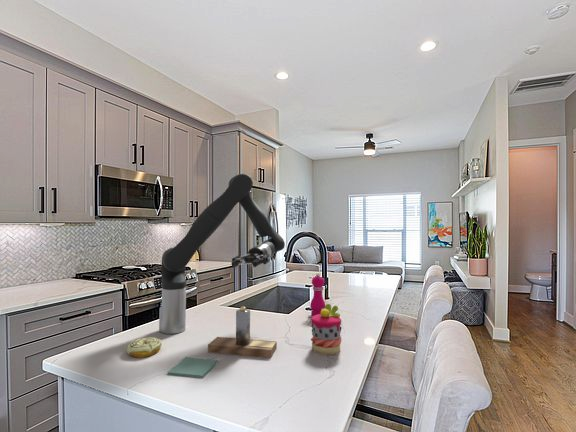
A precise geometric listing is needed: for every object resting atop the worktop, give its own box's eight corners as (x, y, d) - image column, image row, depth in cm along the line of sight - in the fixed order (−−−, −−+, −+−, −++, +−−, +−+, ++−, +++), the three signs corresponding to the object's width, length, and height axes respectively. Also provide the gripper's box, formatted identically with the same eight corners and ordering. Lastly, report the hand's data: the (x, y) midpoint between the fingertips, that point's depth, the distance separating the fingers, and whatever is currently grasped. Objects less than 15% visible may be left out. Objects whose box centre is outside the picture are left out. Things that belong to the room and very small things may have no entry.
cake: (339, 357, 108) (339, 311, 109) (307, 353, 111) (308, 308, 112) (343, 345, 118) (343, 303, 119) (314, 342, 121) (314, 301, 122)
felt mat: (167, 374, 95) (167, 372, 95) (186, 358, 106) (186, 356, 106) (202, 377, 93) (203, 375, 93) (218, 361, 104) (218, 359, 104)
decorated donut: (121, 359, 106) (121, 347, 106) (134, 346, 116) (134, 335, 116) (155, 358, 106) (155, 346, 106) (165, 346, 117) (165, 335, 117)
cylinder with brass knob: (233, 344, 111) (234, 307, 112) (238, 340, 116) (238, 304, 116) (247, 346, 110) (247, 308, 111) (251, 341, 115) (252, 304, 115)
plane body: (207, 352, 111) (207, 344, 111) (217, 343, 119) (217, 336, 119) (271, 357, 107) (271, 349, 107) (276, 348, 115) (276, 340, 115)
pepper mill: (324, 317, 153) (324, 274, 154) (309, 316, 155) (309, 274, 155) (326, 313, 160) (326, 272, 161) (311, 312, 162) (311, 271, 162)
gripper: (243, 245, 139) (224, 255, 124) (274, 244, 134) (259, 254, 119) (245, 263, 140) (227, 274, 124) (276, 262, 135) (262, 274, 120)
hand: (243, 264), depth 122 cm, fingers open, 8 cm apart
